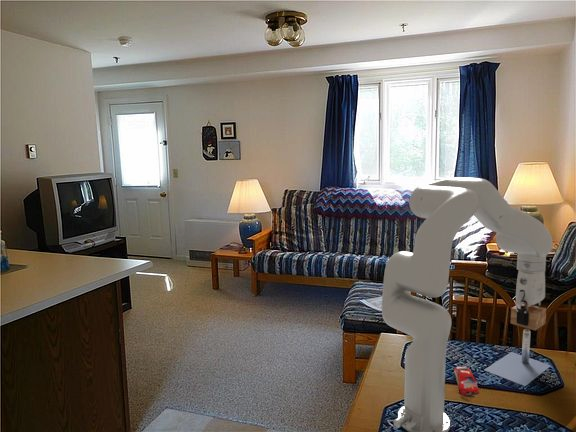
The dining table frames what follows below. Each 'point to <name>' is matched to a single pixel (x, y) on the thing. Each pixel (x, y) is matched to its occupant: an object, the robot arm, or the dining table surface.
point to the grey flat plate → (517, 368)
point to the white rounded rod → (526, 346)
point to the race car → (466, 381)
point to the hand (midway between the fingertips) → (528, 320)
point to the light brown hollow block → (531, 317)
